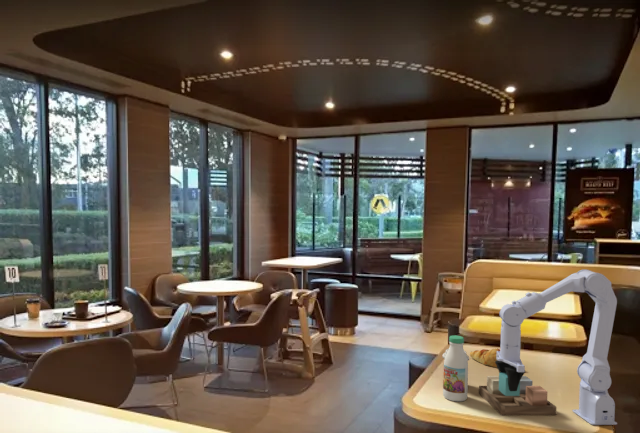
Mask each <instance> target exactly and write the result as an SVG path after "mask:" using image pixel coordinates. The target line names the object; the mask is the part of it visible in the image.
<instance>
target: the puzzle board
mask: <svg viewBox="0 0 640 433" xmlns="http://www.w3.org/2000/svg"><path fill="white" fill-rule="evenodd" d="M478 394H479V395H480V396H481V397H482V398H483V399H484V400H485V401H486V402H487V403H488V404H490V406H491V407H492V408H493V409H494V410H496V412H498V413H499V414H500V415H501V416H556V415H557V406H556V405H555V404H553V403H552V402H551V401H549V400H548V390H546V389H545V388H543V387H542V386H540V385H533V380H532V379H530V378H529V377H528V376H526V375H523V376H522V378H521V380H520V396H505V395H504V394H503V393H501V392H500V391H499V375H487V376H486V385H479V386H478Z"/></svg>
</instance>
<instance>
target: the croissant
mask: <svg viewBox="0 0 640 433" xmlns="http://www.w3.org/2000/svg"><path fill="white" fill-rule="evenodd" d="M497 351H500V348H491V349H485V348H484V349H480V350H478V349H477V350H474V351H470V352H469V356H470V357H471V358H472V359H473V360H475V361H476V362H478V363H479V364H482V365H483V366H484V365H485V366H488V367H491V368H498V367H497V365H496V363H495V361H498V360H497V359H496V358H497V357H496V354H497Z"/></svg>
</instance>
